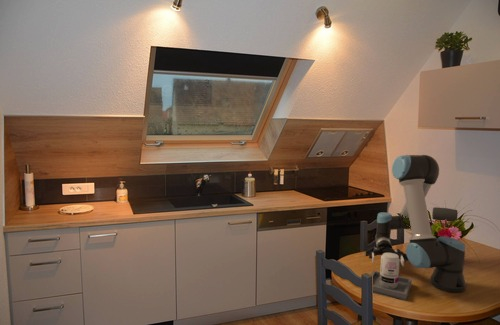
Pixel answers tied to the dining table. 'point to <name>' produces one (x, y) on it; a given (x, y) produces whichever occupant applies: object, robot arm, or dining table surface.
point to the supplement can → (389, 270)
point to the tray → (398, 292)
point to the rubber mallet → (444, 214)
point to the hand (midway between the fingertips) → (388, 261)
